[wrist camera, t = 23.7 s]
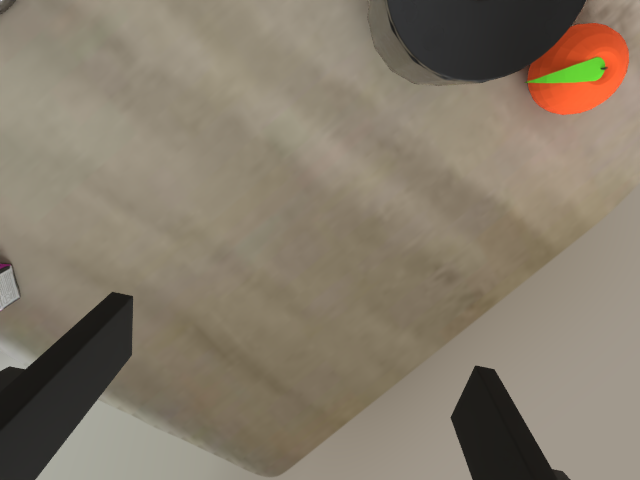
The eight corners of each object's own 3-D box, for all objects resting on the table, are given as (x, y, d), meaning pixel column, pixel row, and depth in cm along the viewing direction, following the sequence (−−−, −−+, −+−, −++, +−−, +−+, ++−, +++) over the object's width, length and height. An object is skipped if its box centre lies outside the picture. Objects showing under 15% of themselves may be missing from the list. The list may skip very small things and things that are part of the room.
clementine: (502, 122, 36) (540, 128, 29) (500, 43, 33) (541, 31, 26) (589, 103, 35) (649, 106, 28) (594, 21, 32) (660, 3, 26)
